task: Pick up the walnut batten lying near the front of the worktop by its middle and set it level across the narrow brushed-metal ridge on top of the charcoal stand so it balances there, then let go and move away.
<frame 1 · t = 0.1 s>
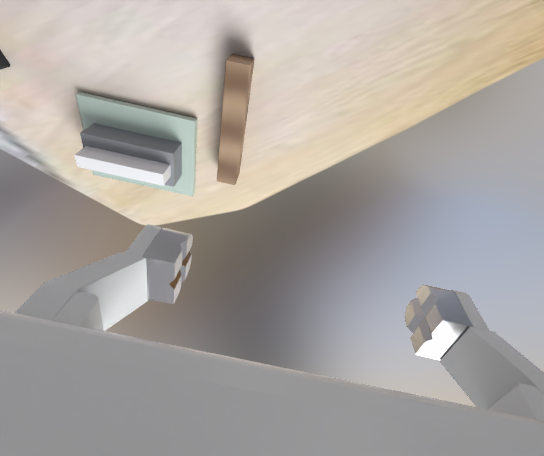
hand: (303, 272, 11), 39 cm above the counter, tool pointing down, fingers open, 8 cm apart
walnut batten: (236, 120, 48), on the counter
ridge stand: (142, 146, 53), on the counter
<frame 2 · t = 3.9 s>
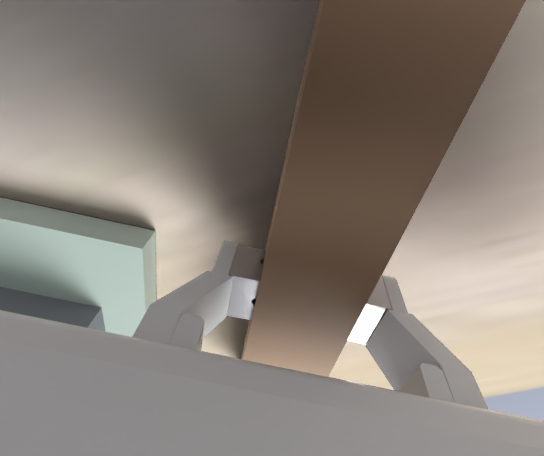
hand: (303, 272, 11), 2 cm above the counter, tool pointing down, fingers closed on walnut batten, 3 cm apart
walnut batten: (304, 240, 13), on the counter, touching gripper
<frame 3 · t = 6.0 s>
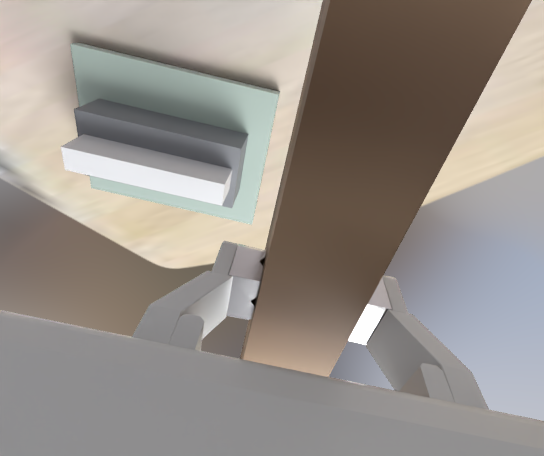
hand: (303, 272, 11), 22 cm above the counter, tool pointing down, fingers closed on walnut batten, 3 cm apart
walnut batten: (305, 242, 13), point 20 cm above the counter, touching gripper
ridge stand: (178, 142, 32), on the counter
when the fingers open (11 cm above the counter, at t = 8.5 s): walnut batten drops 1 cm, resting on ridge stand.
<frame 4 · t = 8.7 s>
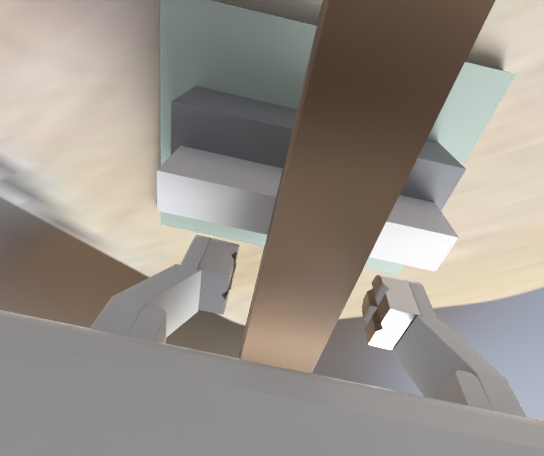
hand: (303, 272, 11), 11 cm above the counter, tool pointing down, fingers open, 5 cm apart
walnut batten: (304, 224, 14), point 8 cm above the counter, touching ridge stand
ridge stand: (305, 156, 20), on the counter
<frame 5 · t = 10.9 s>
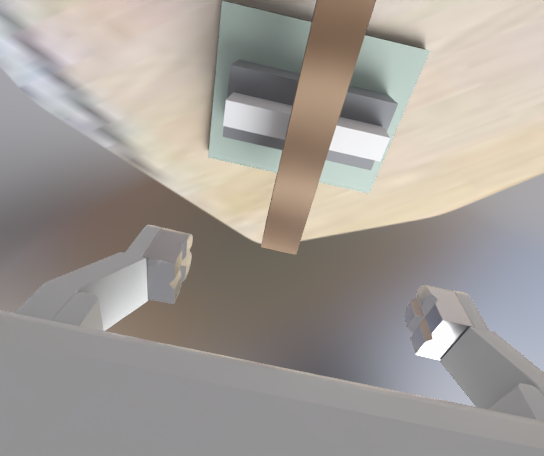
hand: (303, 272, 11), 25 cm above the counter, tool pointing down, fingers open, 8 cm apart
walnut batten: (306, 132, 25), point 8 cm above the counter, touching ridge stand
ridge stand: (305, 107, 31), on the counter
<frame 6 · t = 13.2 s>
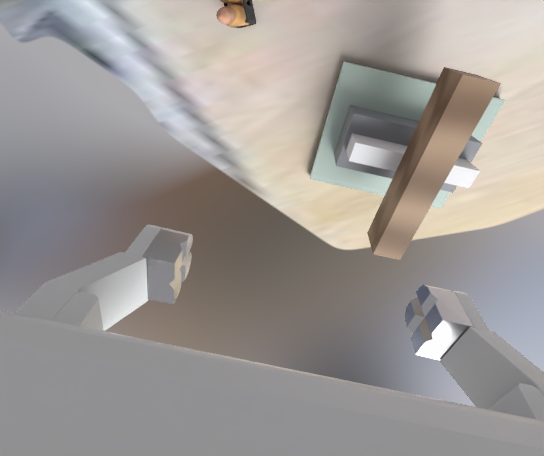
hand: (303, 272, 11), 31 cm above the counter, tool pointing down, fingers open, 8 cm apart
walnut batten: (413, 166, 32), point 8 cm above the counter, touching ridge stand
ridge stand: (395, 140, 39), on the counter
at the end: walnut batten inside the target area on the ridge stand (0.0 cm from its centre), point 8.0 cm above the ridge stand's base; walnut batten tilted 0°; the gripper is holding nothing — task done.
